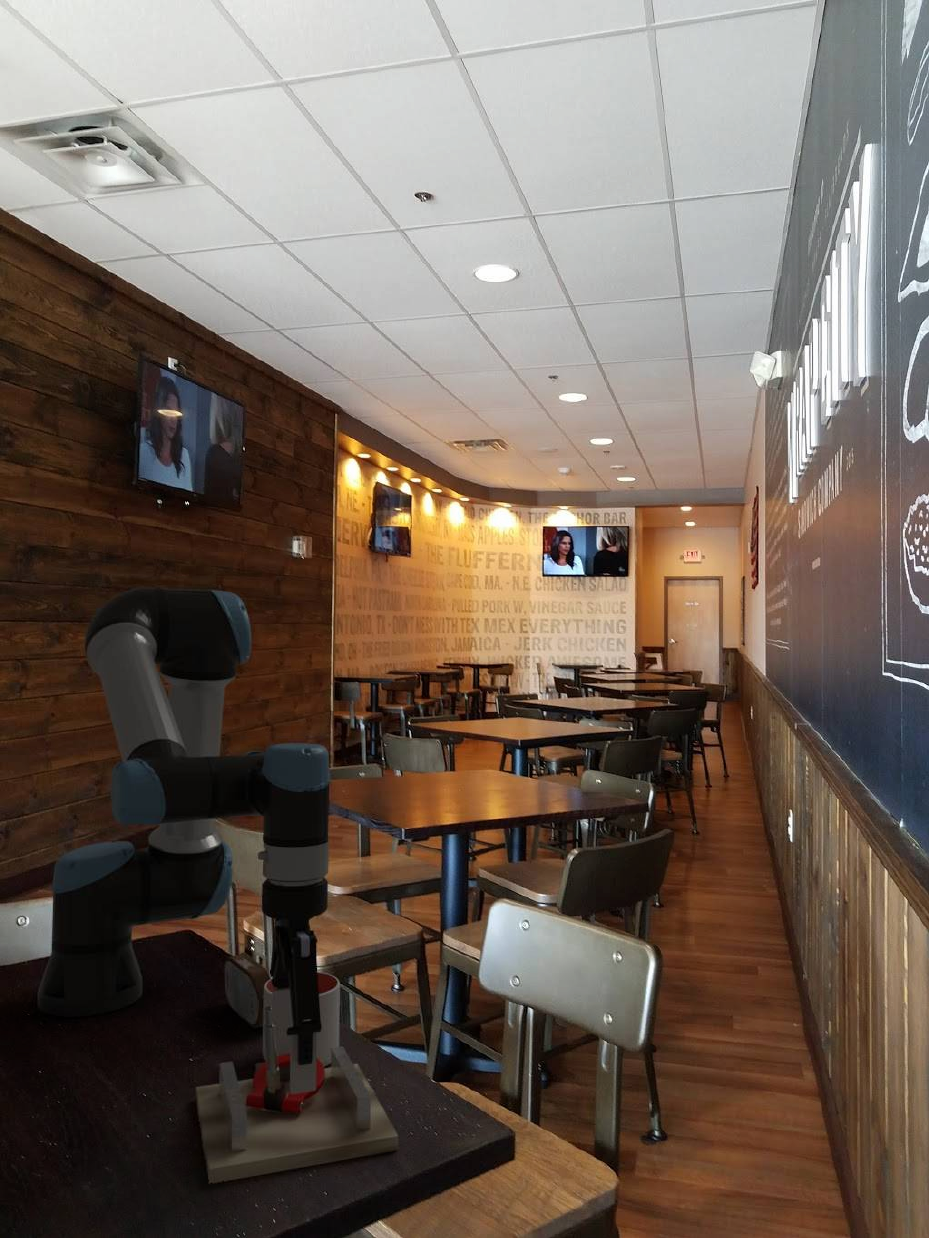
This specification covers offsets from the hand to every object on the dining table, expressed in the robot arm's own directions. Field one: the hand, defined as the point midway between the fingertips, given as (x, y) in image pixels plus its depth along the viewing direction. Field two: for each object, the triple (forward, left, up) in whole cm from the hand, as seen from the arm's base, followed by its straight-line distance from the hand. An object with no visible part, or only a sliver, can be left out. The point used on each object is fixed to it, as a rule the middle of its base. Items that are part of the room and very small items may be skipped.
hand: (292, 1065), depth 108 cm
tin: (-33, -1, -7) cm, 34 cm away
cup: (-16, +4, -7) cm, 18 cm away
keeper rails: (-1, 0, -5) cm, 5 cm away
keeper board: (0, 0, -7) cm, 7 cm away
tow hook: (-4, 0, -4) cm, 5 cm away
